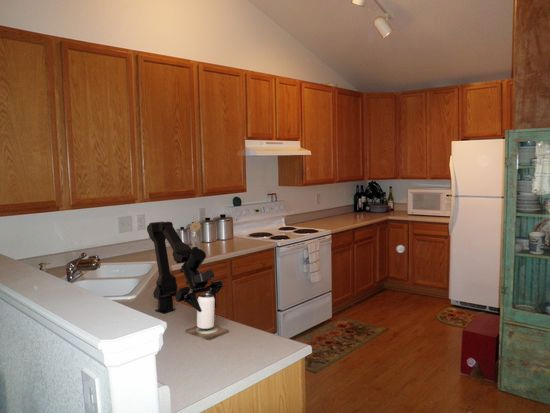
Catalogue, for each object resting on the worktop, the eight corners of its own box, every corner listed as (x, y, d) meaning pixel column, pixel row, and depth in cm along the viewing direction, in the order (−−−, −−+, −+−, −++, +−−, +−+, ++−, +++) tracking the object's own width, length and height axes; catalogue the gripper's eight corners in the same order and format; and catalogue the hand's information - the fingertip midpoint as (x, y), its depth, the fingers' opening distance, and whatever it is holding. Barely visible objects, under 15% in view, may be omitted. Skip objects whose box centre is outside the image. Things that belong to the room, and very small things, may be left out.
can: (211, 323, 172) (212, 292, 171) (215, 328, 166) (216, 296, 165) (195, 324, 170) (195, 293, 169) (198, 330, 164) (199, 297, 163)
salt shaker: (193, 259, 304) (192, 241, 302) (201, 259, 306) (200, 240, 305) (194, 261, 298) (194, 242, 297) (203, 260, 300) (202, 241, 299)
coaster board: (185, 332, 168) (185, 329, 168) (205, 325, 176) (205, 322, 176) (209, 340, 160) (209, 337, 160) (228, 332, 168) (228, 329, 168)
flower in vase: (183, 256, 317) (182, 221, 315) (195, 253, 326) (194, 219, 323) (194, 258, 309) (194, 222, 306) (207, 255, 317) (206, 221, 315)
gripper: (178, 267, 163) (194, 303, 156) (220, 260, 175) (237, 293, 168) (168, 283, 170) (183, 319, 162) (210, 275, 182) (225, 308, 174)
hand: (208, 309), depth 167 cm, fingers closed on can, 6 cm apart
